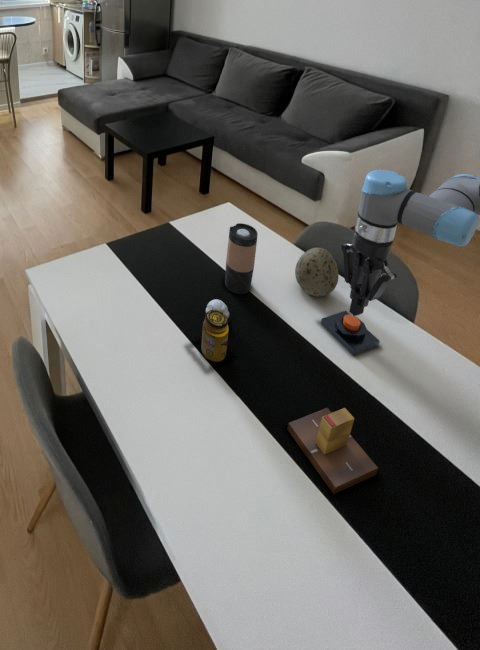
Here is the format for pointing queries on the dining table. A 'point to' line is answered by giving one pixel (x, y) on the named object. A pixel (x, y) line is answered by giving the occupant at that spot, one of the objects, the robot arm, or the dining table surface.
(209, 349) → the condiment
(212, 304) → the white lumpy ball
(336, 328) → the switch block
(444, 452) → the dining table surface
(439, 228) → the robot arm
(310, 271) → the decorative egg
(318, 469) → the brown wooden flat block
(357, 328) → the button
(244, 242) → the travel mug
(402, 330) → the dining table surface
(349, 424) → the yellow upright flat block
